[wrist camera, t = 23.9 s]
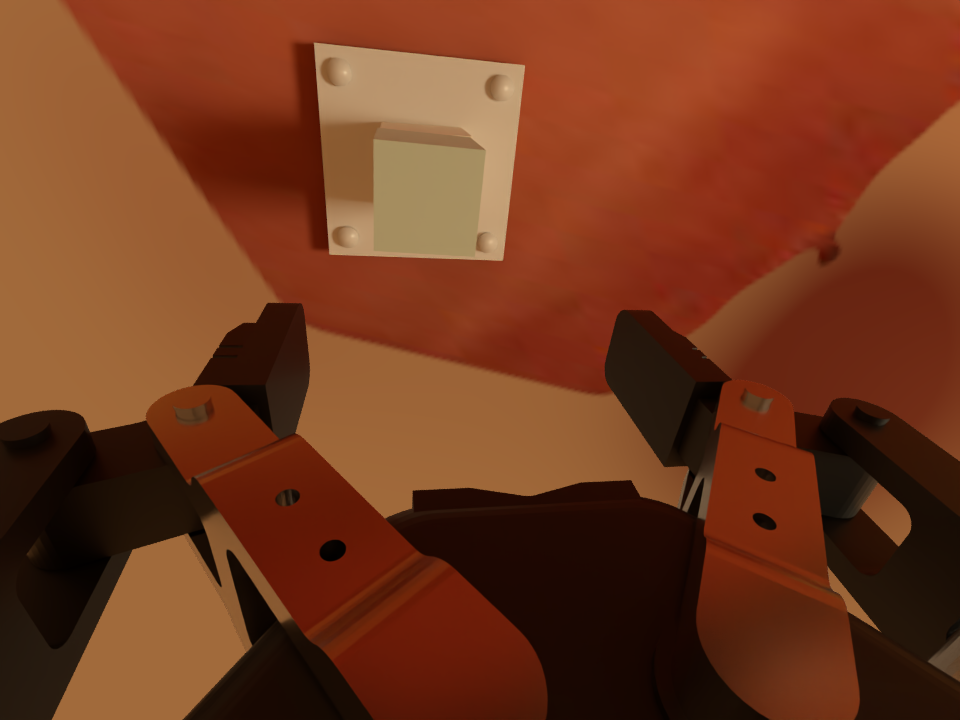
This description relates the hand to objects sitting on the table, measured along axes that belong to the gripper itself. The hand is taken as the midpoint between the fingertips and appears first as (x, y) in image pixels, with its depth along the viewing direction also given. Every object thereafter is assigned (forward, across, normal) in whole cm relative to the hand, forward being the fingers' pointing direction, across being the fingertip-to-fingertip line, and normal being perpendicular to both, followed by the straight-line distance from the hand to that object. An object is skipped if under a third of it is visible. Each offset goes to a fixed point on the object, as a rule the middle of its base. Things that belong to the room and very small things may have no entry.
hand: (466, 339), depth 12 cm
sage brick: (+21, 0, 0) cm, 21 cm away
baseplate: (+28, 0, 0) cm, 29 cm away
